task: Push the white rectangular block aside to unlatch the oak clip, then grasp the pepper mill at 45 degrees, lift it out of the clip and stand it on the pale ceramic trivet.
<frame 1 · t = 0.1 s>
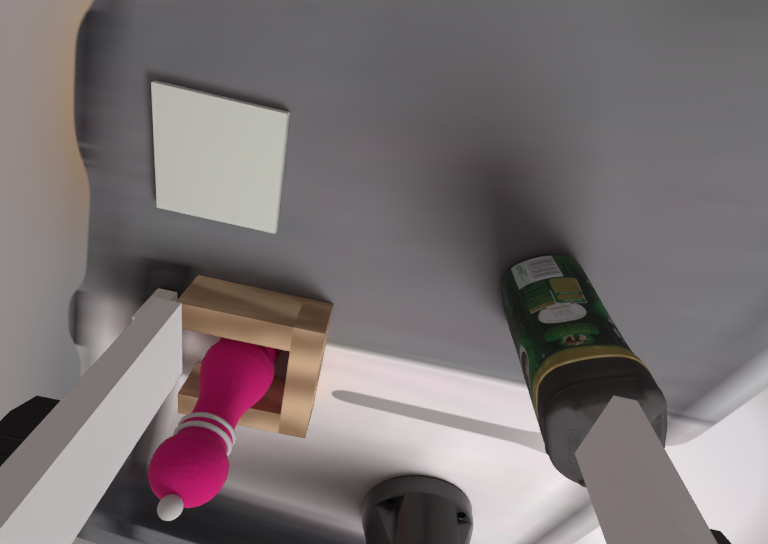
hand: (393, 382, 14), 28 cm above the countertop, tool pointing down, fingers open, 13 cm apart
coffee jar: (542, 292, 45), on the countertop
pepper mill: (252, 341, 50), resting in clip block
trivet: (221, 161, 40), on the countertop
white rectangular block: (157, 342, 47), point 3 cm above the countertop, slide at 0.0 cm
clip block: (251, 342, 50), on the countertop
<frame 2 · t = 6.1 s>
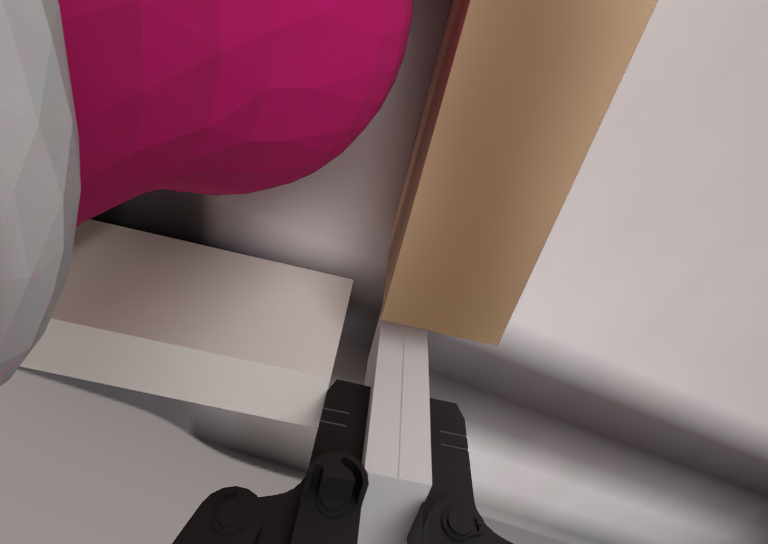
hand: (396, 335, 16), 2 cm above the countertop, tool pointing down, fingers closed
white rectangular block: (182, 311, 14), point 3 cm above the countertop, slide at 1.4 cm, touching gripper
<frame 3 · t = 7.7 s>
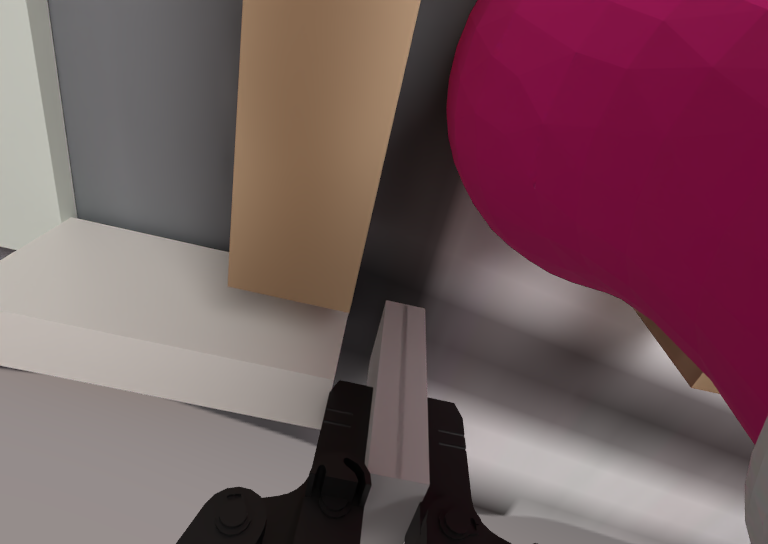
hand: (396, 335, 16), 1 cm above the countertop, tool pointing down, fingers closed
pepper mill: (565, 72, 13), resting in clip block
white rectangular block: (184, 313, 14), point 3 cm above the countertop, slide at 9.5 cm, touching gripper, trivet
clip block: (567, 73, 13), on the countertop
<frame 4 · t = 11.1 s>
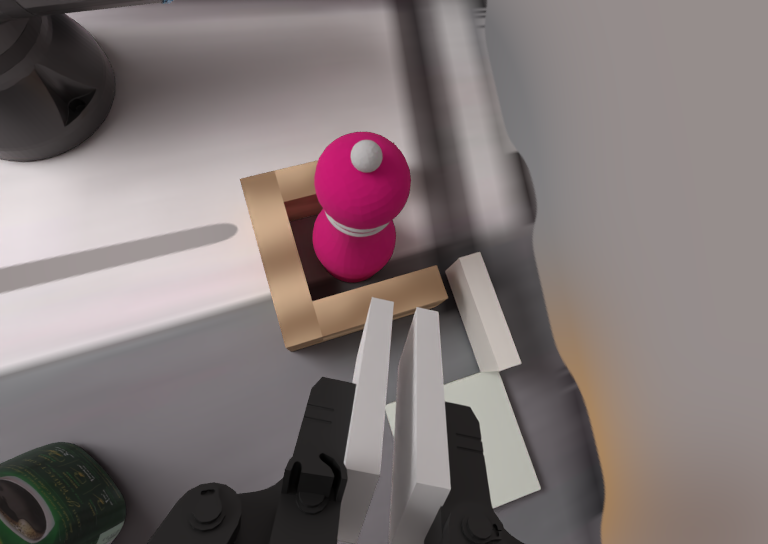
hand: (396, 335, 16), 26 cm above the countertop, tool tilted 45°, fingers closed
coffee jar: (68, 505, 36), on the countertop
pepper mill: (352, 251, 44), resting in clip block
trivet: (460, 445, 40), on the countertop
white rectangular block: (480, 313, 41), point 3 cm above the countertop, slide at 9.5 cm, touching trivet
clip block: (352, 251, 43), on the countertop
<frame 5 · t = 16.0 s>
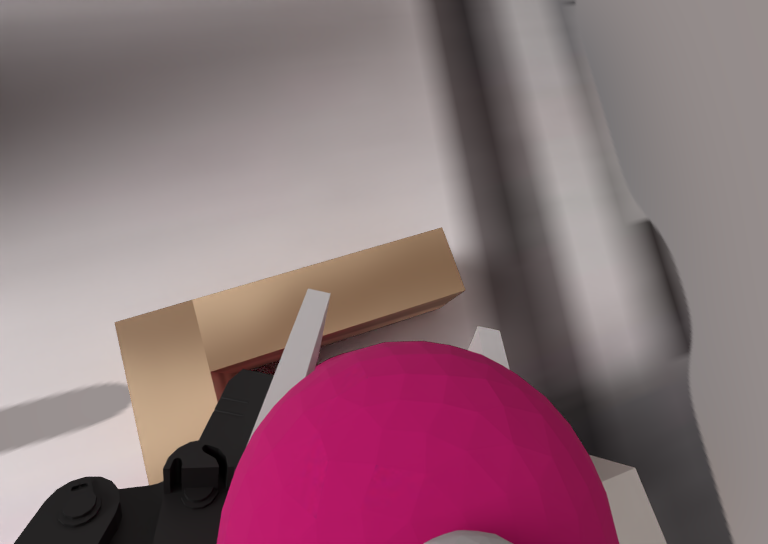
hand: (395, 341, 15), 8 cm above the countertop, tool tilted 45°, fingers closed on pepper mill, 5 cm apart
pepper mill: (359, 429, 23), resting in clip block, touching gripper
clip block: (359, 429, 23), on the countertop
when the fingers open (11 cm above the countertop, at t = 21.1 s): pepper mill drops 1 cm, resting on trivet.
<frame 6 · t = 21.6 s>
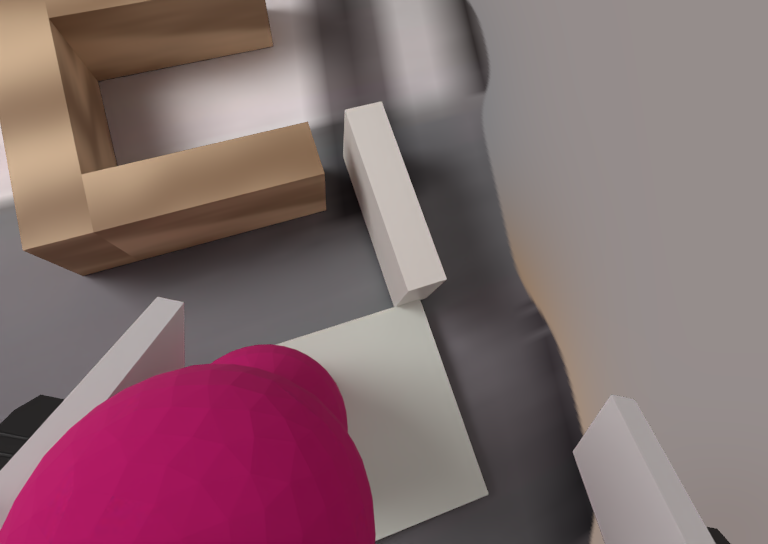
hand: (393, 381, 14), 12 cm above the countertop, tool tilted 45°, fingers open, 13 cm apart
pepper mill: (270, 416, 24), point 1 cm above the countertop, touching trivet
trivet: (357, 425, 25), on the countertop
white rectangular block: (388, 210, 25), point 3 cm above the countertop, slide at 9.5 cm, touching trivet
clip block: (197, 125, 28), on the countertop
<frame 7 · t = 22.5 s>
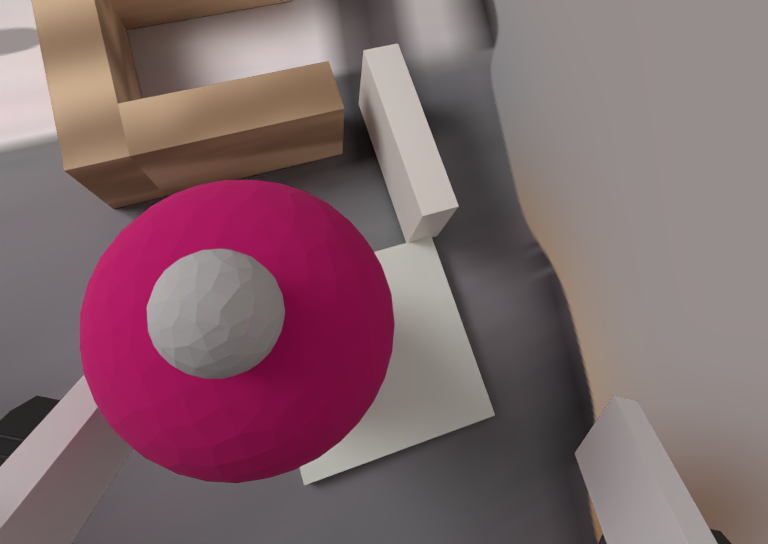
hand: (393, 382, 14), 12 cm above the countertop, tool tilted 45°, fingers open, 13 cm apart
pepper mill: (290, 339, 25), point 1 cm above the countertop, touching gripper, trivet
trivet: (371, 351, 26), on the countertop
white rectangular block: (402, 149, 26), point 3 cm above the countertop, slide at 9.5 cm, touching trivet
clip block: (220, 73, 29), on the countertop
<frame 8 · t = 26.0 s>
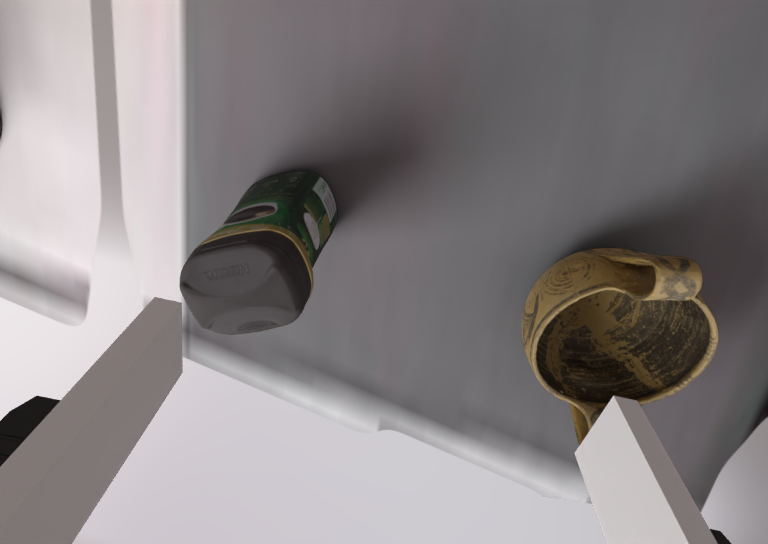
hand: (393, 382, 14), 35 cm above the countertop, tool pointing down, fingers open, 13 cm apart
coffee jar: (295, 205, 49), on the countertop
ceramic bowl: (584, 288, 52), on the countertop
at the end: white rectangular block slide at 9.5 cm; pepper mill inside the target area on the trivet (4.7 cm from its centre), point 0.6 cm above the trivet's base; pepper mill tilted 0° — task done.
